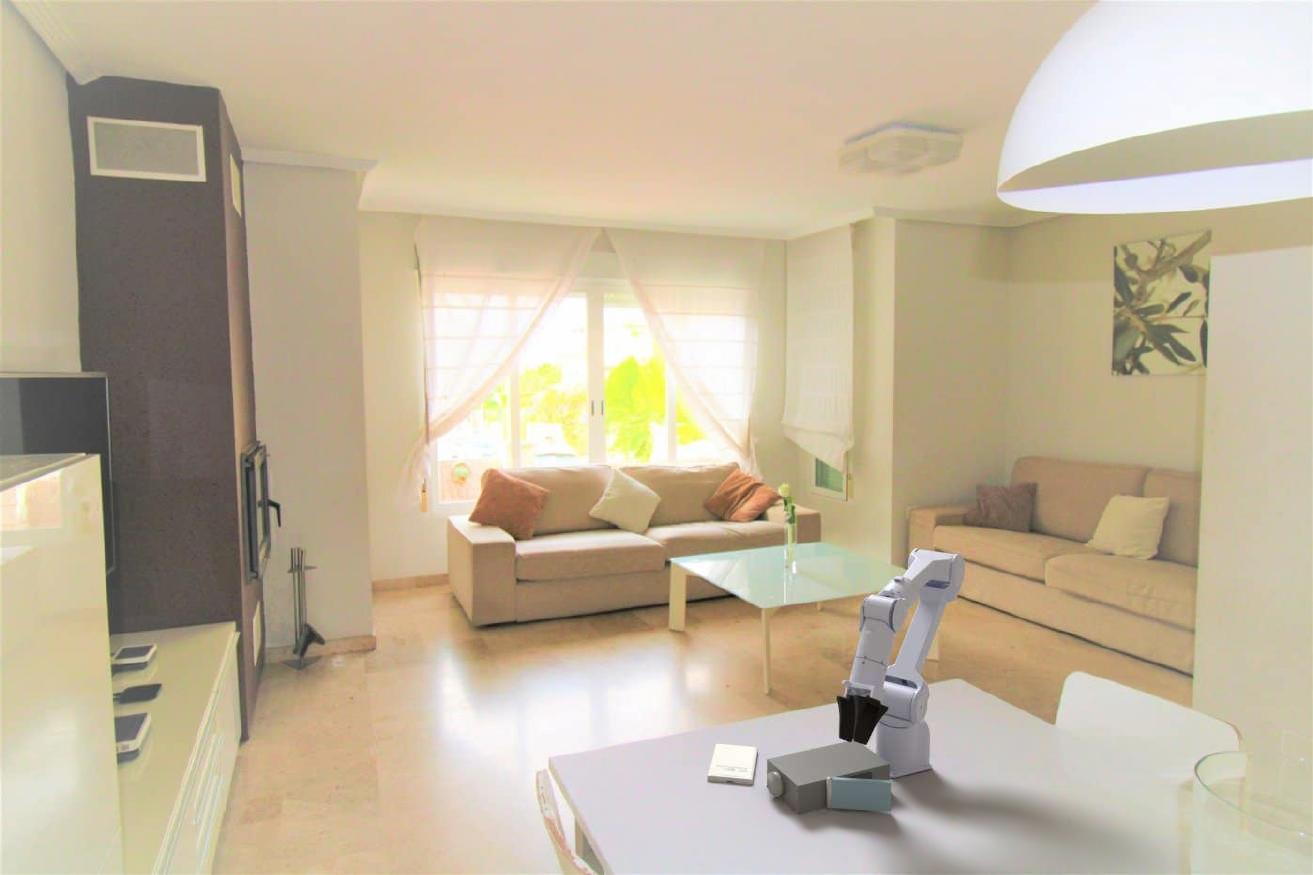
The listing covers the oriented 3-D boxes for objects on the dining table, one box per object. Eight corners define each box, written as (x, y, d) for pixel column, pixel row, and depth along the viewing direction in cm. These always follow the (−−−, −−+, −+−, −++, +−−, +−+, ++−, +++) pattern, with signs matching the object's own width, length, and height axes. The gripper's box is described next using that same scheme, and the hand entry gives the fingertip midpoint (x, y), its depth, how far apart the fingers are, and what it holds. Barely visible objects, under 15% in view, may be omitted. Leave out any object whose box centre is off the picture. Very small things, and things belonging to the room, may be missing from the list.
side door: (889, 808, 133) (890, 780, 133) (890, 811, 132) (891, 783, 132) (826, 804, 135) (826, 776, 134) (826, 807, 134) (827, 779, 133)
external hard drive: (757, 755, 155) (752, 787, 143) (715, 751, 156) (707, 783, 144) (757, 747, 155) (752, 778, 142) (715, 743, 156) (707, 774, 144)
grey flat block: (854, 765, 149) (855, 739, 149) (890, 791, 140) (890, 764, 140) (761, 787, 141) (761, 760, 141) (792, 816, 132) (792, 787, 132)
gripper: (836, 656, 146) (817, 731, 141) (863, 653, 132) (843, 736, 128) (873, 669, 146) (855, 744, 141) (903, 667, 132) (884, 751, 127)
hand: (852, 741), depth 134 cm, fingers open, 7 cm apart
